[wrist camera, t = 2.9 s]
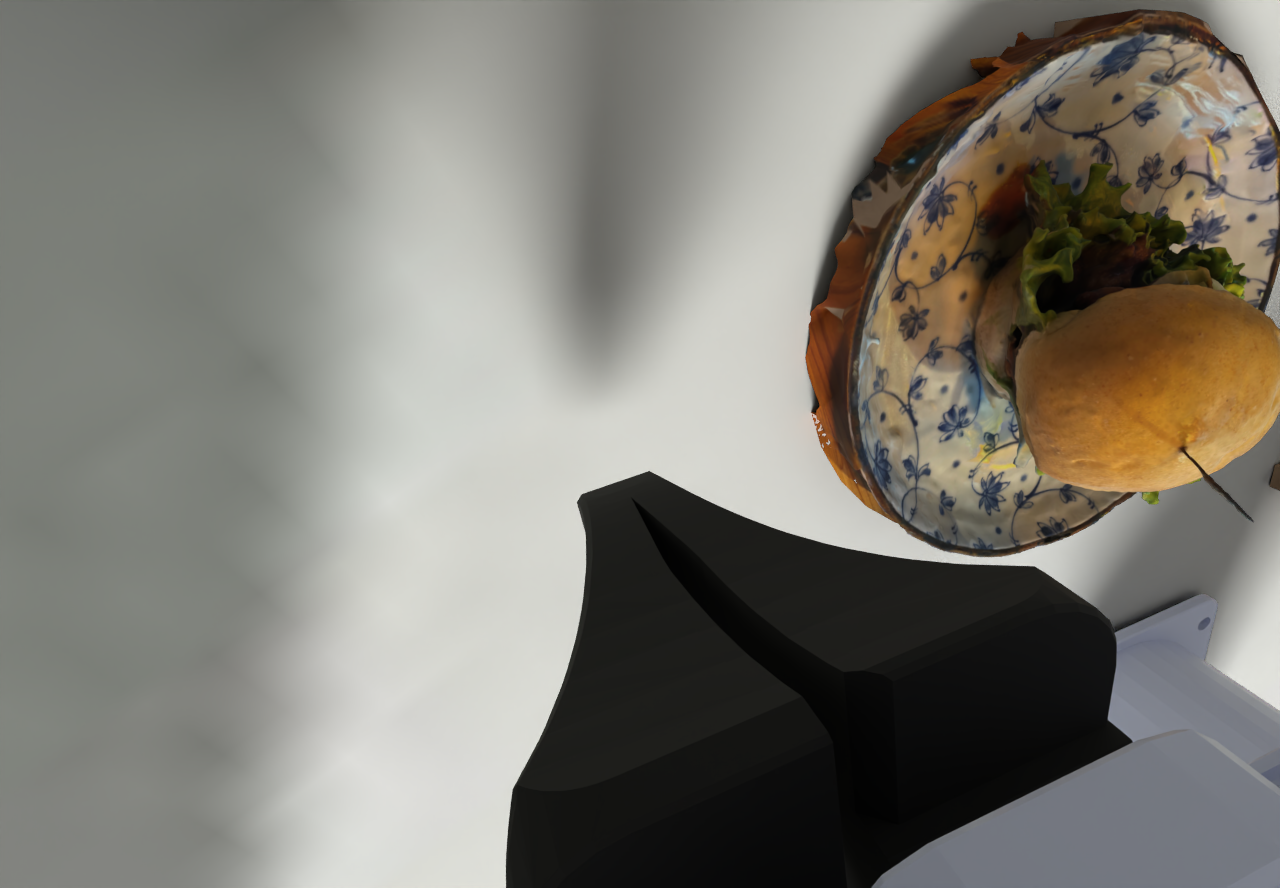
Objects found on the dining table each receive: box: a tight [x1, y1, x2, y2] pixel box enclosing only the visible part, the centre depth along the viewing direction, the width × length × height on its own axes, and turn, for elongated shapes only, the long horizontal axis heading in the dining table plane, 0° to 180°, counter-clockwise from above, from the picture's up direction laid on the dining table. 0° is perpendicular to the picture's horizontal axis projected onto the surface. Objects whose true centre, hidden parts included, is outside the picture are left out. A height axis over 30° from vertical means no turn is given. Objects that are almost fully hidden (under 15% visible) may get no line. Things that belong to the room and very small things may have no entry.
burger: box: [805, 9, 1280, 557], centre depth 14 cm, size 12×12×8 cm
